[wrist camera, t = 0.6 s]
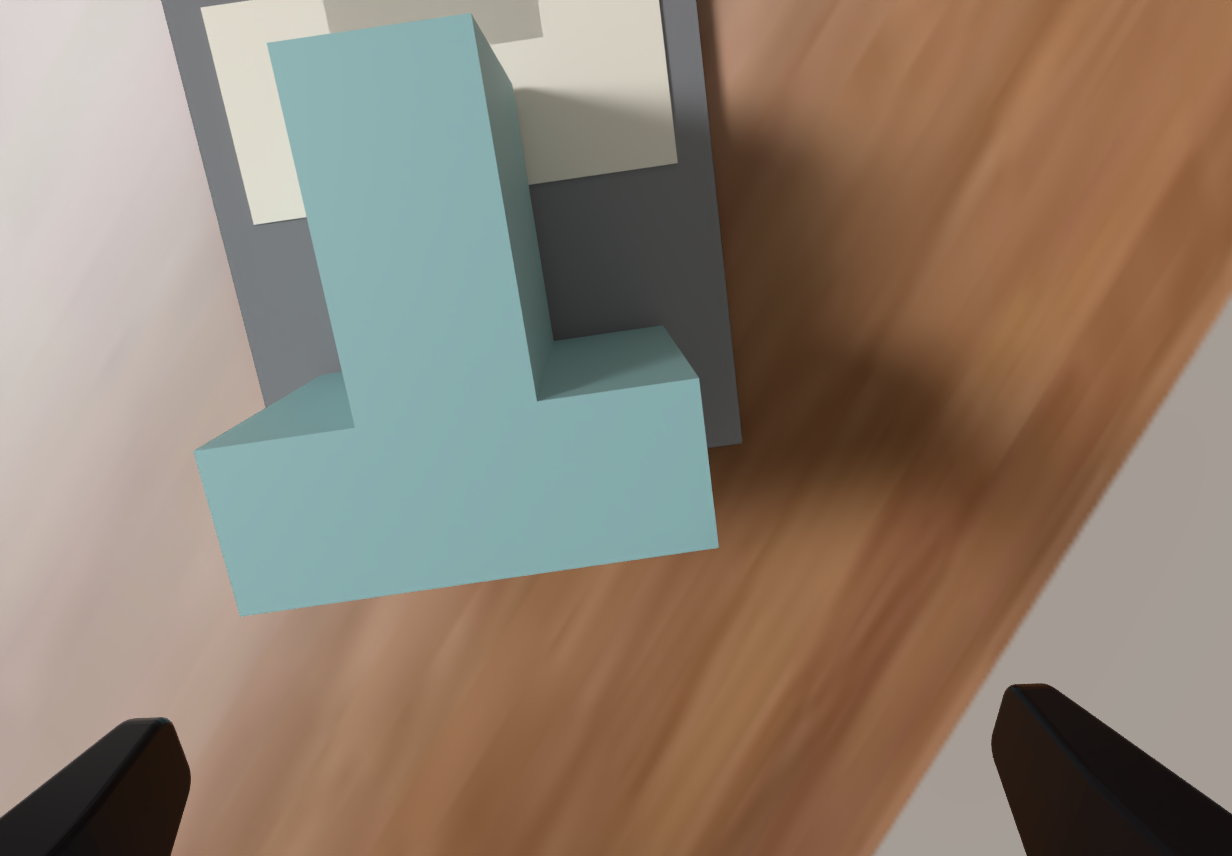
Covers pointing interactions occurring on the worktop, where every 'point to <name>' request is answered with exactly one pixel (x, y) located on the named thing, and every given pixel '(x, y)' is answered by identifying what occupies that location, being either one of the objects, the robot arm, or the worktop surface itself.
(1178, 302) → the worktop surface
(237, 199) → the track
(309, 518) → the t slider
